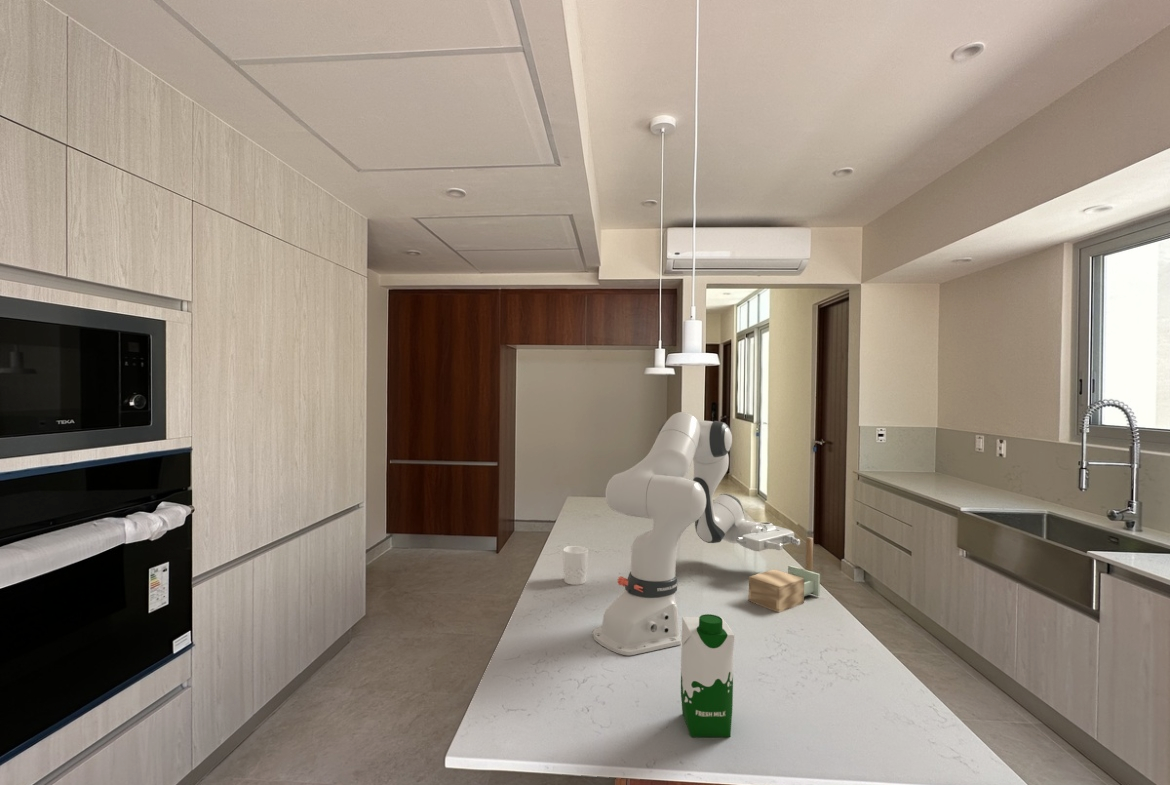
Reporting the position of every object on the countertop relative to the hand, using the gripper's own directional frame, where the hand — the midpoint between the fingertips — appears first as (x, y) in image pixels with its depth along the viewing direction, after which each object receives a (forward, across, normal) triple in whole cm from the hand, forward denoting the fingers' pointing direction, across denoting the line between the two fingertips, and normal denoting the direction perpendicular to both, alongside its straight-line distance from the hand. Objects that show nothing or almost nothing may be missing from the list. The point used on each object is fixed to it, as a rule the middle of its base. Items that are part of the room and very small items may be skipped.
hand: (790, 545), depth 174 cm
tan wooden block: (+7, -17, +12) cm, 22 cm away
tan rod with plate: (+7, -7, +12) cm, 15 cm away
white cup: (-39, -55, +12) cm, 69 cm away
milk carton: (+35, -78, +12) cm, 87 cm away
